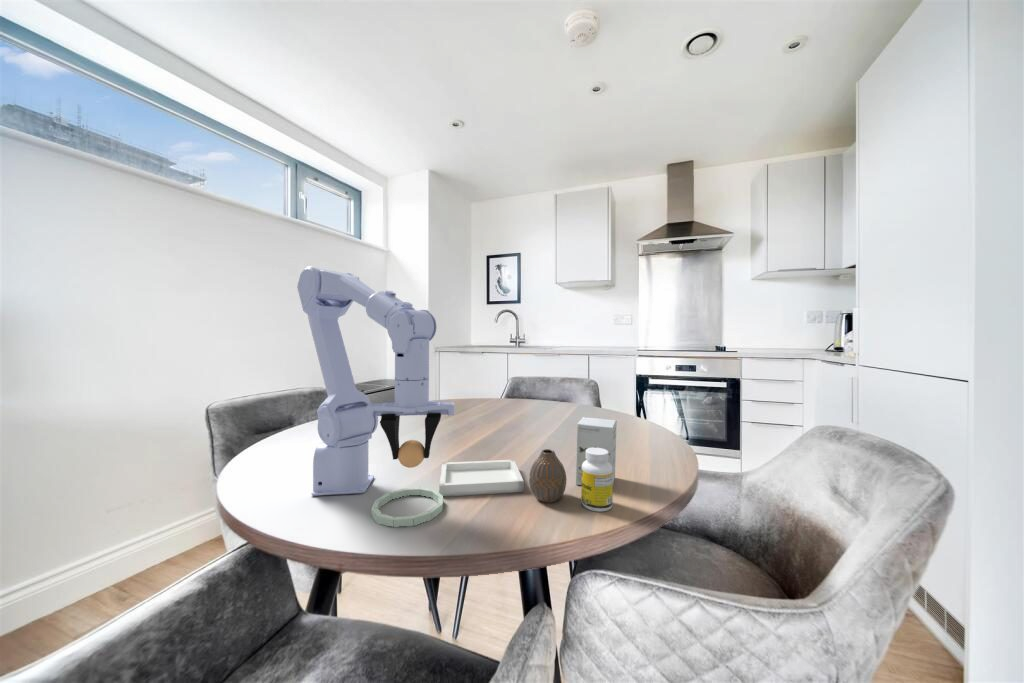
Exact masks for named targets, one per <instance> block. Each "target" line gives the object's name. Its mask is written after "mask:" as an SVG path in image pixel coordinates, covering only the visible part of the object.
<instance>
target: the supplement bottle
mask: <svg viewBox="0 0 1024 683" xmlns="http://www.w3.org/2000/svg"><path fill="white" fill-rule="evenodd" d="M608 458H609V452H608V451H607V450H605V449H602V448H588V449H586V459H587V460H586V461H584V462H583V464H582V485H581V504H582V506H583V507H584V508H586V509H587V510H589V511H592V512H599V513H601V512H607V511H609V510H611V509H612V507H613V487H612V484H613V485H614V482H613V481H612V477H613V469H612V465H611V464H610V463H609V462H607V461H608Z"/></svg>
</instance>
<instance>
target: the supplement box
mask: <svg viewBox="0 0 1024 683" xmlns="http://www.w3.org/2000/svg"><path fill="white" fill-rule="evenodd" d="M617 424H618V420H615V419H606V418H597V417H586V416H582V418H581V419H580V420H579V421H578V422H577V424H576V425H577V426H576V463H575V464H576V465H575V466H576V467H575V471H576V472H575V485H577V486H578V485H579V486H582V464H583V462H584V461H586V460H587V459H586V449H588V448H602V449H605V450H607V451H608V452H609V458H608V461H607V462H609V463H610V464H611V465H612V469H613V477H612V481H613V484H612V487H613V486H614V482H615V477H616V454H617V453H616V452H617V449H616V448H617V445H616V444H617Z"/></svg>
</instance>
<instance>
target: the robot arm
mask: <svg viewBox="0 0 1024 683" xmlns="http://www.w3.org/2000/svg"><path fill="white" fill-rule="evenodd" d="M298 278H299V279H298V282H297V292H298V295H299V299H300V303H301V304H300V305H301V307H302V311H303V312H304V313H305V314H306V315H307V318H308V324H309V328H310V331H311V335H312V340H313V342H314V347H315V351H316V355H317V358H318V363H319V367H320V371H321V374H322V378H323V381H324V382H323V383H324V386H325V391H326V394H327V396H326V398H325V400H324V401H323V402H321V404H320V405H319V407H318V408H317V409H316V413H317V433H318V436H319V438H320V440H321V441H322V442H320V443H318V445H317V446H316V448H315V450H314V454H313V460H312V492H311V497H312V496H314V497H315V496H329V495H330V496H331V495H333V496H334V495H347V494H348V495H350V494H353V495H354V494H364V493H365V492H366V491H367V489H368V487H369V486H370V485H371V483H372V481H373V479H374V478H375V475H374V474H369V446H370V445H369V442H370V441H369V440H371V439H373V438H372V437H373V434H374V433H375V432H376V430H377V428H378V424H380V427H381V428H382V430H383V432H384V434H385V436H386V439H387V440H388V443H389V447H390V450H391V455H392V460H399V459H398V450H399V448H400V436H399V434H400V433H399V432H400V419H401V418H400V417H402V416H406V417H407V416H425V418H424V429H425V430H424V431H425V432H424V436H425V437H424V438H425V439H424V440H425V441H424V442H425V443H424V448H425V451H424V459H429V458H430V454H431V452H430V451H431V445H432V441H433V438H434V435H435V433H436V430H437V428H438V426H439V424H440V421H441V418H442V415H443V416H445V415H447V416H455V402H453V401H452V402H448V401H447V402H444V401H430V341H432V340H433V339H434V337H435V336H436V334H437V320H436V318H435V316H434V315H433V314H432V313H431V312H430V311H429V310H427V309H419V310H418V309H417V310H416V308H414V307H413V304H412V303H410V301H409V302H408V301H403V300H401V299H399V298H398V297H396V295H397V294H396V292H394V291H392V290H381V291H376V290H374V289H373V288H371V287H370V286H369V285H367V284H366V283H364V282H363V281H361V280H360V277H359V276H357V275H356V276H355V275H354V274H352V273H349V272H348V273H345V272H339V271H333V270H329V269H322V268H316V267H315V266H306V267H305V268H304V269H303V270H302V271H301V273H300V275H299V277H298ZM353 302H355V303H357V304H359V305H361V306H362V307H364V308H365V312H366V315H367V316H368V317H369V318H370V319H371V320H372V321H374V322H376V323H377V324H378V325H380V326H381V327H383V328H385V329H386V330H387V334H388V337H389V338H390V341H391V350H392V351H393V353H394V402H383V403H382V402H381V403H371V400H370V397H369V396H368V395H367V394H365V393H363V392H362V391H359V390H358V389H357V387H356V384H355V379H354V374H353V372H352V368H351V365H350V360H349V357H348V353H347V351H346V350H347V349H346V346H345V342H344V340H343V335H342V333H341V332H342V331H341V329H340V324H339V318H341V317H342V316H345V315H346V314H347V312H348V311H349V309H350V307H351V306H352V304H353ZM379 417H380V421H379Z"/></svg>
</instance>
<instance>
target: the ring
mask: <svg viewBox="0 0 1024 683" xmlns="http://www.w3.org/2000/svg"><path fill="white" fill-rule="evenodd" d="M407 495H408V496H407ZM409 495H421V496H420V497H424V496H426V498H429V497H431V498H430V499H432V498H433V499H432V500H434V501H435V502H436V503H437V502H438V503H437V504H435V505H434V506H433V507H432V508H430V509H429V510H427V511H425V512H424V511H423V512H421V513H418V514H414V515H409V516H408V515H407V516H406V515H405V516H392V515H388V514H385V513H382V512H381V511H380V509H381V507H383V506H384V505H386V504H387V503H389V502H390V500H391V501H393V500H392V499H394V500H396V499H395V498H397V499H400V498H399V497H401V498H403V497H402V496H404V497H410V496H409ZM388 501H389V502H388ZM386 502H387V503H386ZM385 503H386V504H385ZM383 504H384V505H383ZM382 505H383V506H382ZM380 506H381V507H380ZM443 507H444V497H443V495H441V494H440V493H439V491H437V490H436V489H431V488H428V487H421V486H420V487H407V488H406V487H404V488H400V489H396V490H392V491H389V492H386V493H385V494H383V495H381V496H380V497H378V498H376V499H375V500H374V502H373V504H372V506H371V509H370V512H371V517H372V519H373V520H374V521H375V522H376V524H379V525H382V524H383V525H382V526H387V527H389V526H392V527H391V528H400V527H399V526H407V527H414V525H415V526H418V525H420V523H421V524H424V523H426V521H427V522H429V521H432V520H434V519H435V518H436V517H437V516H438V515H440V514H441V513H442V512H443V509H444V508H443ZM434 517H435V518H434ZM423 522H424V523H423ZM417 524H418V525H417ZM393 526H394V527H393Z"/></svg>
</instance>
